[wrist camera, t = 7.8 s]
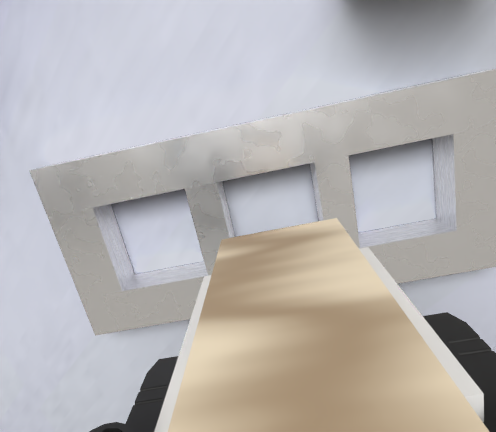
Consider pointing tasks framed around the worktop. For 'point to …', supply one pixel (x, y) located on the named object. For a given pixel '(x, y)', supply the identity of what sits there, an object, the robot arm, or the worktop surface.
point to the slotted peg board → (270, 159)
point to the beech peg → (310, 345)
